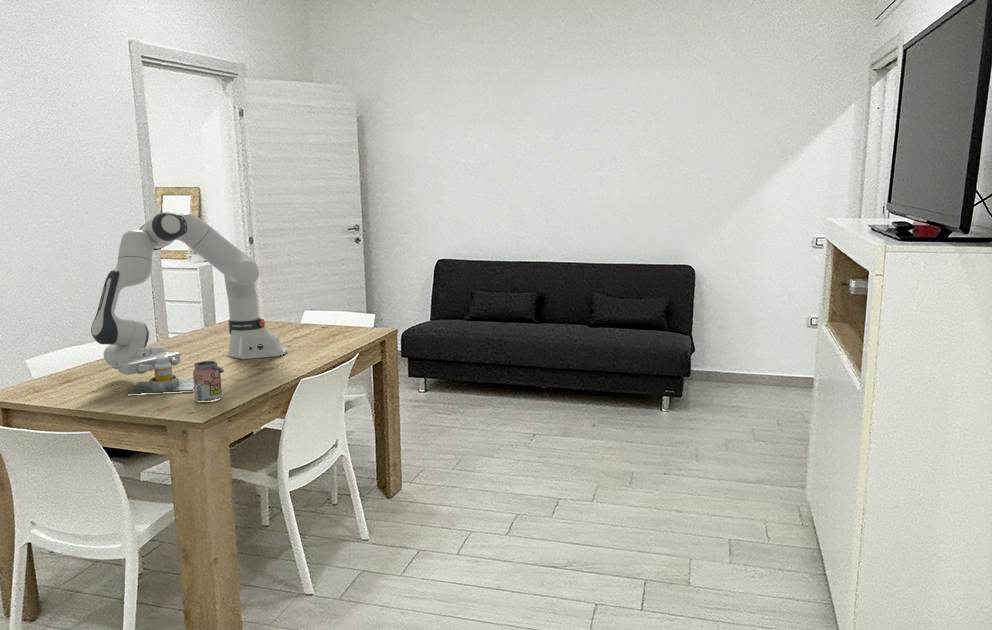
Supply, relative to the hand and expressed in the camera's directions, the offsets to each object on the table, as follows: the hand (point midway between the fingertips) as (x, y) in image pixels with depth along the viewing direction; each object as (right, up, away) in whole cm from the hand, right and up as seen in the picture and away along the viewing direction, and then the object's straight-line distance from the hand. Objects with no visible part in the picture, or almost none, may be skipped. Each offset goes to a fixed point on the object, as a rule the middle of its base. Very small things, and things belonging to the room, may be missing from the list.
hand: (163, 365), depth 263 cm
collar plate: (0, -8, +2) cm, 8 cm away
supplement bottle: (0, -7, +2) cm, 7 cm away
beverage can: (+20, -10, -12) cm, 25 cm away
